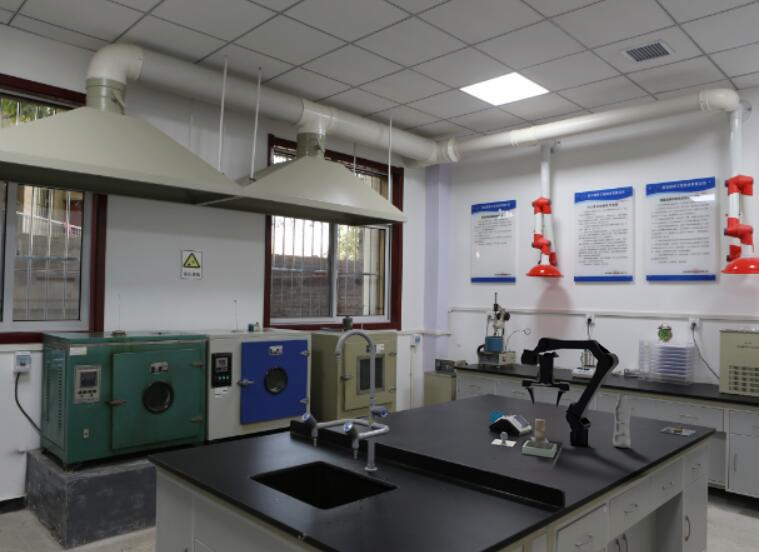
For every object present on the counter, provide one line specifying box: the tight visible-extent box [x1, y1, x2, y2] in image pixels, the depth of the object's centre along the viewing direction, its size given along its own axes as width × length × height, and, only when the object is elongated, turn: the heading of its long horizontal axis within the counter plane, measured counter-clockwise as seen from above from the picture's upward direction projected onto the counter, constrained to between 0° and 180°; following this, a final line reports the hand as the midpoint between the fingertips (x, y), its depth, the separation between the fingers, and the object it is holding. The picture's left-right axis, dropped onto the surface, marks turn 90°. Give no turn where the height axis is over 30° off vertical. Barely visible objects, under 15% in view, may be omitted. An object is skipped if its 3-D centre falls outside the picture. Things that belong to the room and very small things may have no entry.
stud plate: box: [491, 431, 517, 448], centre depth 213 cm, size 8×8×5 cm
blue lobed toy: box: [488, 410, 506, 425], centre depth 244 cm, size 11×6×10 cm
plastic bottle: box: [612, 394, 632, 449], centre depth 220 cm, size 6×7×20 cm
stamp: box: [530, 418, 550, 449], centre depth 202 cm, size 5×5×12 cm
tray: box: [521, 439, 558, 458], centre depth 202 cm, size 11×11×4 cm
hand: (545, 405), depth 231 cm, fingers open, 9 cm apart
